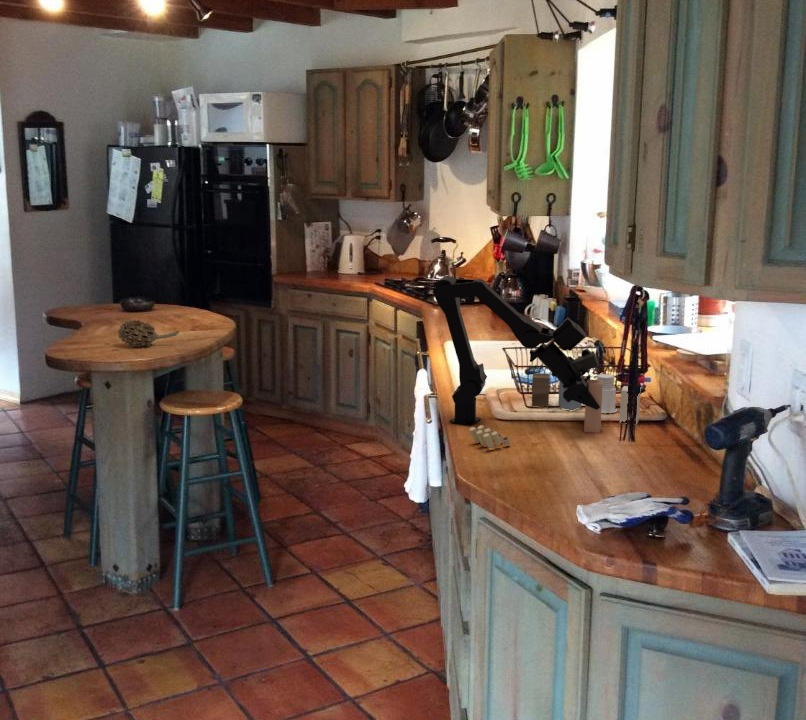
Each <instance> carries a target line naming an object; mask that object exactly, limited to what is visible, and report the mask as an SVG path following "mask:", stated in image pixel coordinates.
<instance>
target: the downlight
mask: <svg viewBox="0 0 806 720" xmlns="http://www.w3.org/2000/svg"><path fill="white" fill-rule="evenodd" d="M596 380H603V387H602V408H601V414H606V413H609V414H612V413H613V414H614V413H617V412H618V408H616V400H617V399H616V397H617V396H616V395H617V387H615V375H613V374H608V373H607V374H606V373H605V374H604V373H602V374H597V375H596ZM615 408H616V409H615Z"/></svg>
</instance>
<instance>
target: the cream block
mask: <svg viewBox="0 0 806 720" xmlns="http://www.w3.org/2000/svg"><path fill="white" fill-rule="evenodd" d="M628 386H629V385H623V387H622V388H621V390H620V407H619V408H620V409H619V423H620V424H622V423H621V422H622V421H623V422H625V421H626V420H627V402H628V393H627V392H628ZM641 389H642V388H641V387H640V393H639V394H638V396H637V415H636V424H635V425H638V423H639V420H640V407H641V392H642V391H641Z"/></svg>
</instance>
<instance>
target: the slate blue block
mask: <svg viewBox="0 0 806 720" xmlns="http://www.w3.org/2000/svg"><path fill="white" fill-rule="evenodd" d="M558 382H559V383H558V405H557V406H560V407H562V408H565V409H569V410H574V409H576V408H578V407H581V408H582V404H581V403H579V402H576V401H572V400H571V401H570V402H567V401H566V400H565V399H564V398H563V392H564V388H563V387H562V385H563V384H562V383H561V382H560V381H559V380H558Z"/></svg>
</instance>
